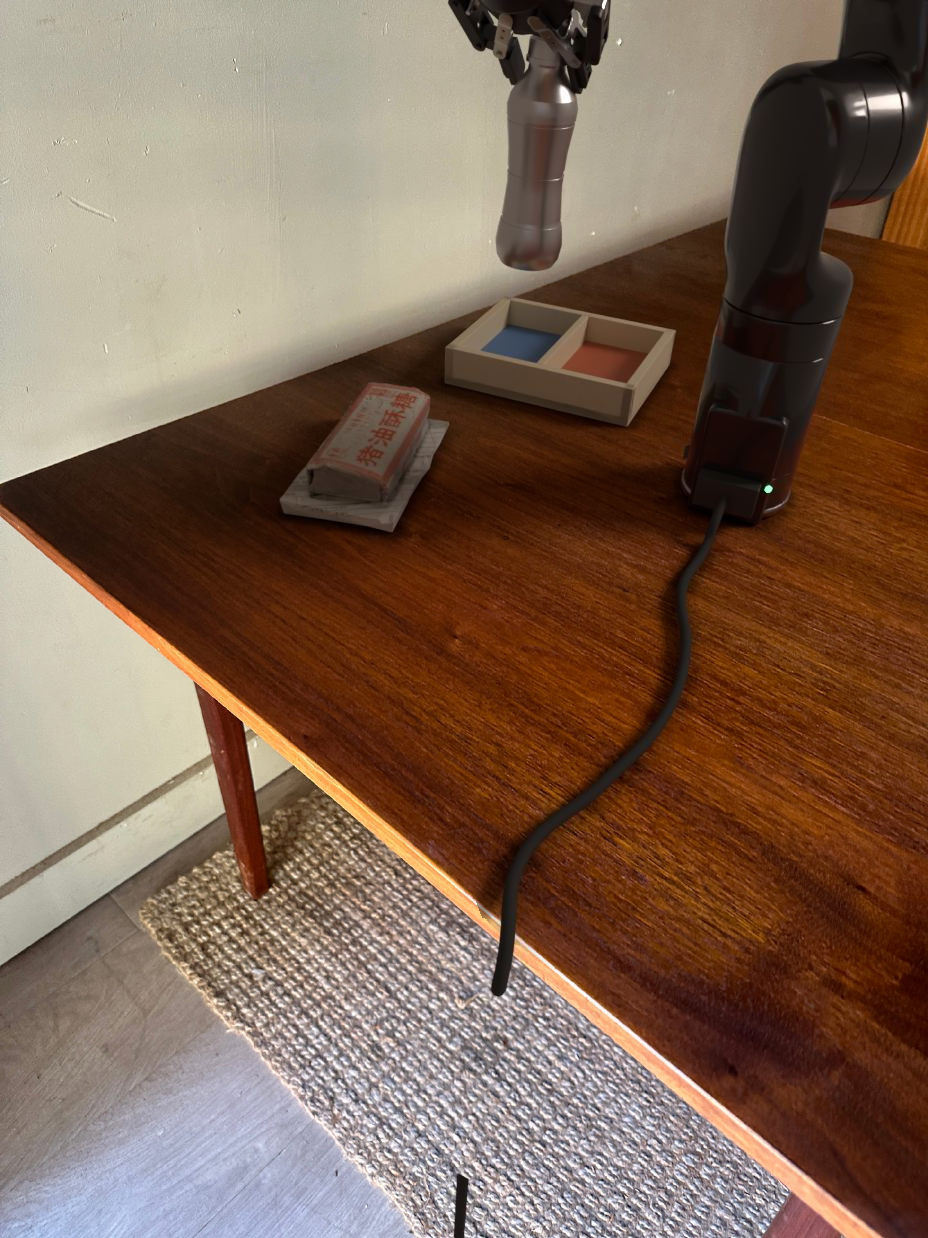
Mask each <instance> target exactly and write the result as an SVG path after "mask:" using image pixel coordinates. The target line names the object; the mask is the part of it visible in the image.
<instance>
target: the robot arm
mask: <svg viewBox="0 0 928 1238" xmlns="http://www.w3.org/2000/svg"><path fill="white" fill-rule="evenodd" d="M447 4H448V7H449V8H450V10H451V12H452V13H453V15H454V17H455V18H456V20H457V22H458V24H459V25H460V27H461V29H462V30H463V32H464V33H465V35H466V37H467V39H468V40H469V42H470V44H471V46H472V48H473V49H474V50H476V51H477V52H485V50H486V49H487V50H490V51H492V54H493V56H494V58H496V59H498V62H499V66H500V68H501V71H502V74H503V77H505V78H506V79H508V80H509V83H510V86H515V84H516V83H517V81H518V80H519V78H520V77H521V76H522V75H523V74H524V72H525V71H526V60H525V58H524V54H523V51H522V47H521V44H520V41H519V37H518V36H527V35H529V36H531V35H534V36H538V37H542V38H543V39H544V41H545V42H546V43H547V45H548V46H549V47H550V49H551V50H552V51H553V52H554V53H557V52H559V53H560V54H561V56H562V57H563V58H564V60H565V61H566V62H567V66H566V72H567V76H568V78H569V80H570V84H571V87H572V89H573V91H574V93H575V94H576V95H582V93H583V91H584V90H587V87H588V84H589V81H590V79H591V76H592V73H593V68H592V66H598V65H599V64H600V62H601V58H602V55H603V52H604V51H603V50H604V48H605V45H606V44H607V42H608V38H609V32H610V31H609V30H610V19H611V6H612V5H611V4H612V0H447ZM841 8H842V9H841V20H840V28H839V37H838V43H837V51H836V57H835V59H833V58H832V59H817V60H816V59H815V60H806V61H799V62H793V63H789V64H787V65H784V66H782V67H780V68H779V69H777V70H775V71H774V72H773V73H772V74H771V75H770V76H768V78H767V79H766V80H765V81H764V82H763V84H762V85H761V87H760V88H759V90H758V91H757V93H756V95H755V97H754V99H753V101H752V102H751V105H750V107H749V110H748V113H747V115H746V119H745V122H744V125H743V129H742V133H741V137H740V142H739V146H738V150H737V151H738V152H737V157H736V164H735V170H734V175H733V184H732V189H731V196H730V202H729V208H728V214H727V221H726V226H725V233H724V240H723V241H724V242H723V244H724V245H723V255H724V264H725V265H724V266H725V280H724V286H723V290H722V295H721V300H720V305H719V308H718V314H717V318H716V323H715V327H714V330H713V335H712V340H711V344H710V349H709V354H708V359H707V363H706V368H705V371H704V377H703V382H702V386H701V390H700V394H699V395H700V396H699V400H698V404H697V409H696V412H695V418H694V423H693V426H692V433H691V437H690V441H689V444H687V445H685V447H684V451H683V456H682V461H684V460H685V459H686V460H685V465H684V468H683V470H682V472H681V476H680V477H681V478H680V488H681V491H682V493H683V494H684V496H686V498H687V499H688V502H687V507H689V508H692V509H696V510H699V511H703V512H707V513H710V514H712V515H711V517H710V520H709V523H708V526H707V529H706V532H705V535H704V537H703V540H702V543H701V544H700V547H699V548H698V550H697V552H696V554H695V555H694V556H693V558H692V559H691V561H690V562H689V564H688V565H687V566H686V567H685V569H684V570H683V572H682V573H681V576H680V577H679V580H678V582H677V586H676V591H675V599H674V601H675V602H674V604H675V614H676V619H677V625H678V629H679V644H680V645H679V654H678V660H677V665H676V671H675V674H674V675H675V676H674V680H673V682H672V686H671V687H670V691H669V693H668V695H667V698H666V700H665V702H664V704H663V705H662V708H661V709H660V711H659V712H658V714H657V716H656V717H655V719H654V720H653V722H652V723H651V725H650V726H649V727H648V728H647V729H646V731H645V732H644V733H643V735H642V736H641V737H640V738H639V739H638V740H637V741H636V742H635V743H634V744H633V745H632V746H631V747H629V749H628V750H627V751H626V752H625V753H624V754H623V755H622V756H621V757H620V758H618V760H616V761H615V762H614V763H613V764H612V765H611V766H610V767H609V768H608V769H607V770H606V771H605V772H603V774H601V776H599V777H598V778H597V779H596V780H595V781H594V782H593V783H592V784H591V785H589V787H588V788H586V789H585V790H584V791H583V792H581V793H580V794H578V795H577V796H576V797H575V798H573V799H572V800H570V801H569V802H567V803H566V804H564V805H563V806H562V807H560V808H559V809H558V810H556V811H555V812H554V813H552V814H551V815H549V816H548V817H547V818H546V819H544V820H542V822H541V823H539V825H538V826H536V827H535V828H534V829H533V830H532V832H530V833H529V835H528V836H527V837H526V839H525V840H524V841H523V843H522V844H521V845H520V847H519V849H518V850H517V852H516V854H515V855H514V857H513V859H512V861H511V863H510V865H509V868H508V871H507V874H506V877H505V881H504V885H503V890H502V891H503V892H502V898H501V909H500V911H501V912H500V928H499V932H500V933H499V941H498V949H497V955H496V961H495V962H496V963H495V966H494V971H493V975H492V980H491V984H490V992H491V994H492V995H493V996H494V997H497V998H498V997H501V996H503V995H504V994H505V993H506V991H507V987H508V983H509V978H510V975H511V970H512V964H513V959H514V951H515V944H516V931H517V930H516V929H517V928H516V927H517V907H518V905H517V904H518V893H519V887H520V883H521V879H522V876H523V873H524V870H525V869H526V867H527V864H528V862H529V861H530V859H531V858H532V856H533V854H534V853H535V852H536V850H537V849H538V847H539V846H540V845H541V844H542V843H543V842H544V841H545V840H546V839H547V838H548V837H549V836H550V835H551V834H552V833H553V832H554V831H556V830H557V829H558V828H559V827H561V826H562V825H563V824H564V823H566V822H567V821H569V820H570V819H572V818H573V817H575V816H576V815H577V814H579V812H582V811H583V810H584V809H586V808H587V807H588V806H589V805H591V804H592V803H593V802H594V801H595V800H597V799H598V798H599V797H600V796H601V795H603V793H604V792H606V791H607V790H608V789H609V788H610V787H611V786H612V785H613V784H614V783H615V782H616V781H617V780H618V779H619V778H620V777H621V776H623V774H624V773H625V772H626V771H627V770H629V768H631V767H632V766H633V765H634V764H635V763H636V762H637V761H638V760H639V759H640V758H641V757H642V756H643V755H644V754H645V753H646V752H647V751H648V749H649V748H650V747H651V746H652V745H653V744H654V742H655V741H656V740H657V739H658V737H659V736H660V735H661V733H663V730H664V729H665V727H666V726H667V724H668V722H669V721H670V719H671V718H672V716H673V714H674V711H675V710H676V708H677V706H678V704H679V701H680V699H681V696H682V694H683V692H684V689H685V685H686V683H687V678H688V674H689V668H690V663H691V657H692V655H691V654H692V643H693V642H692V641H693V640H692V639H693V638H692V631H691V624H690V620H689V615H688V614H689V613H688V610H687V609H688V608H687V593H688V588H689V584H690V581H691V579H692V578H693V577H694V575H695V574H696V572H697V571H698V570H699V569H700V567H701V565H703V563H704V561H705V559H706V558H707V556H708V554H709V552H710V551H711V548H712V545H713V543H714V540H715V538H716V535H717V532H718V528H719V526H720V523H721V520H722V518H723V517H726V518H730V519H734V520H736V521H737V520H738V521H741V522H745V523H748V524H753V525H760V523H761V521H762V519H765V518H769V517H772V516H775V515H777V514H779V513H780V512H782V511H783V510H784V509H785V508H786V506H787V504H788V503H789V499H790V496H791V488H792V485H793V482H794V478H795V475H796V472H797V469H798V466H799V461H800V459H801V455H802V452H803V448H804V447H805V443H806V439H807V437H808V433H809V429H810V426H811V424H812V421H813V418H814V417H813V416H814V413H815V410H816V408H817V407H816V406H817V403H818V401H819V397H820V395H821V390H822V387H823V384H824V381H825V378H826V374H827V371H828V369H829V365H830V362H831V358H832V355H833V352H834V350H835V346H836V343H837V340H838V337H839V334H840V331H841V327H842V324H843V321H844V317H845V314H846V311H847V307H848V304H849V302H850V297H851V294H852V290H853V286H854V273H853V271H852V270H851V268H850V267H849V266H848V265H847V264H846V263H845V262H844V261H843V260H841V259H839V258H837V257H835V256H833V255H831V254H829V253H827V252H824V251H822V243H823V238H824V233H825V229H826V223H827V218H828V213H829V210H836V209H842V208H843V209H844V208H848V207H857V206H863V205H869V204H873V203H876V202H878V201H881V200H883V199H885V198H887V197H889V196H891V195H892V194H893V193H894V192H896V190H898V188H899V187H900V186H901V185H902V184H903V183H904V182H905V181H906V179H907V177H908V176H909V175H910V173H911V171H912V170H913V168H914V166H915V164H916V161H917V159H918V157H919V155H920V152H921V149H922V146H923V145H924V144H923V143H924V140H925V136H926V132H927V127H928V0H842V7H841ZM491 15H492V16H493V17H494V18H495V19H496V21H497V24H496V25H495V22H494V20H493V18H492V16H491ZM579 15H580V18H579ZM579 19H580V20H582V23H580V20H579ZM585 29H586V31H585ZM514 35H516V36H514ZM517 35H518V36H517ZM469 1183H470V1180H469V1178H468V1177H467V1176H464V1175H463V1174H460V1173H459V1172H457V1173H456V1183H455V1185H456V1187H455V1200H454V1201H455V1204H454V1205H455V1206H454V1223H453V1238H465V1235H466V1234H465V1233H466V1220H467V1207H468V1206H467V1205H468V1195H469V1194H468V1193H469Z"/></svg>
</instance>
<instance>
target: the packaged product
mask: <svg viewBox="0 0 928 1238" xmlns="http://www.w3.org/2000/svg"><path fill="white" fill-rule="evenodd" d="M430 409H431V397H430V394H428V393H426V392H424V391H422V390H421V389H419V388H417V387H414V386H412V387H410V386H405V385H397V384H391V383H381V382H375V381H374V382H372V381H371V382H368V383H367V385H366V386H365V388H364V389H362V391H361V392H360V394H358V395H357V396H356V398H355V400H354V402H352V403H351V405H349V406H348V409H347V411H345V413H344V415H343V416H342V417H341V418H340V419H339V421H338V422H337V424H336V425H335V426H334V427H333V428H332V430H331V431H330V432H329V434H328V436H327V437H326V438H325V440H323V441H322V443H321V444H320V446H319V447H318V449H317V450H316V451H315V452H314V454H313V455H312V456H311V458H310V459H309V460H308V462H307V463H306V465H305V467H303V468H302V469H301V471H300V472H299V473H298V474H297V476H296V477H295V478H294V480H293V481H292V482H291V484H290V485H289V487H287V488H286V489H287V490H286V491H285V492H284V494H283V495H282V496H281V497H280V498H279V503H280V506H281V509H282V512H283V514H286V515H293V516H298V517H299V516H300V517H306V518H314V519H319V520H320V519H321V520H325V521H326V520H327V521H331V522H332V521H333V522H340V523H346V524H350V525H352V524H353V525H357V526H364V527H368V528H372V529H377V530H381V531H384V532H389V533H393V532H394V530H395V528H396V526H397V524H398V522H399V521H400V519H401V516H402V515H403V513H404V510H405V509H406V507H407V505H408V503H409V500H410V498H411V497H412V495H413V493H414V492H415V490H416V489H417V487H418V486H419V484H420V482H421V480H422V478H424V476H425V475H426V473H428V471H429V470H430V468H431V465H432V461H433V458H434V454H435V453H436V451H437V450H438V448H439V446H440V445H441V443H442V440H443V438H444V437H445V435H446V433H447V430H448V428H449V427H450V421H448V420H447V421H446V420H439V419H435V418H434V419H433V418H429V414H430Z"/></svg>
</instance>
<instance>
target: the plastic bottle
mask: <svg viewBox="0 0 928 1238" xmlns="http://www.w3.org/2000/svg"><path fill="white" fill-rule="evenodd" d="M525 62H528V66H527V68H526V69H525V71H524V74H523V75H522V76H521V77H520V78H519V80H518V81H517V83H516V84H515V85H513V87H512V88H511V89H510V92H509V95H508V98H507V101H506V115H507V116H506V130H507V166H508V167H507V171H506V184H505V190H504V197H503V203H502V210H501V215H500V217H499V220H498V224H497V229H496V232H495V233H496V234H495V251H496V255H497V256H498V259H499V261H500V262H501V263H502V264H503V265H504V266H507V267H508V268H511V269H515V270H519V271H525V272H541V271H546V270H549V269H551V268H552V267H553V266H554V265H555V263H557V261H558V260H559V256H560V253H561V249H562V246H563V224H562V205H563V204H562V202H563V184H564V177H565V173H564V172H565V171H566V165H567V161H568V160H567V159H568V154H569V150H570V146H571V141H572V139H573V134H574V130H575V127H576V122H577V118H578V113H579V104H578V98H577V94H575V93H574V91H573V89H572V87H571V84H570V80H569V76H568V73H567V62H566V61H565V60H564V58H563V57H562V56H561V54H560V53H559V52H557V53H554V52H553V51H552V50H551V49H550V47H549V46H548V45H547V43H546V42H545V41H544V39H543V38H542V37H538V36H534V35H531V34H530V35H529V40H528V47H527V53H526V55H525Z"/></svg>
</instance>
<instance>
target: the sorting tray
mask: <svg viewBox="0 0 928 1238" xmlns="http://www.w3.org/2000/svg"><path fill="white" fill-rule="evenodd" d="M676 332H677V330H675V329H672V328H666V327H661V326H656V325H652V324H646V323H642V322H637V321H632V320H627V319H622V318H617V317H612V316H607V315H603V314H597V313H592V312H588V311H582V310H577V309H572V308H568V307H563V306H558V305H555V304H554V305H553V304H549V303H545V302H544V303H543V302H540V301H539V302H538V301H533V300H529V299H528V300H527V299H523V298H520V297H514V296H509V295H504V297H503V298H502V299H500V300H499V301H498V302H497V303H496V304H494V305H493V306H492V307H491V308H490V309H489V310H488V311H486V312H485V313H484V314H483V315H482V316H480V317H479V318H478V319H477V320H476V321H475V322H473V323H472V324H471V325H470V326H468V328H466V329H465V330H464V331H463V332H461V333H460V334H459V335H458V336H457V337H456V338H454V339H453V340H452V341H451V342H450V343H448V344H447V345H445V347H444V348H445V349H444V350H445V351H444V353H445V355H444V384H447V385H450V386H454V387H459V388H463V389H467V390H471V391H476V392H480V393H484V394H489V395H492V396H496V397H501V398H506V399H509V400H514V401H517V402H522V403H526V404H530V405H535V406H538V407H543V408H546V409H550V410H555V411H559V412H564V413H568V414H571V415H576V416H580V417H584V418H589V419H593V420H596V421H601V422H605V423H610V424H613V425H617V426H622V427H628V426H629V425H630V423H631V422H632V421H633V419H634V417H635V416H636V414H637V413H638V411H639V410H640V408H641V407H642V405H644V403H645V401H646V400H647V398H648V397H649V395H650V394H651V392H652V391H653V390H654V388H655V386H656V385H657V383H658V382H659V381H660V379H661V378H662V377H663V375H664V374H665V372H666V370H667V369H668V368H669V366H670V363H671V358H672V353H673V348H674V343H675V338H676Z"/></svg>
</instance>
